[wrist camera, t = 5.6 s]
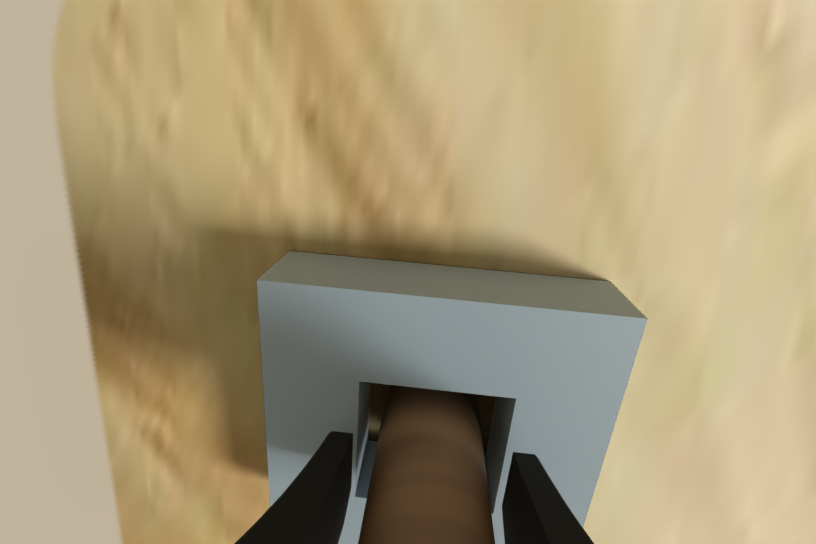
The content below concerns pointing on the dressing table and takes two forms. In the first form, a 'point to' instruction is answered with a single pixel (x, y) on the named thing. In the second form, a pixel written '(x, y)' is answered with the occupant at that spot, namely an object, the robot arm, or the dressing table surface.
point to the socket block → (443, 363)
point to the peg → (428, 472)
